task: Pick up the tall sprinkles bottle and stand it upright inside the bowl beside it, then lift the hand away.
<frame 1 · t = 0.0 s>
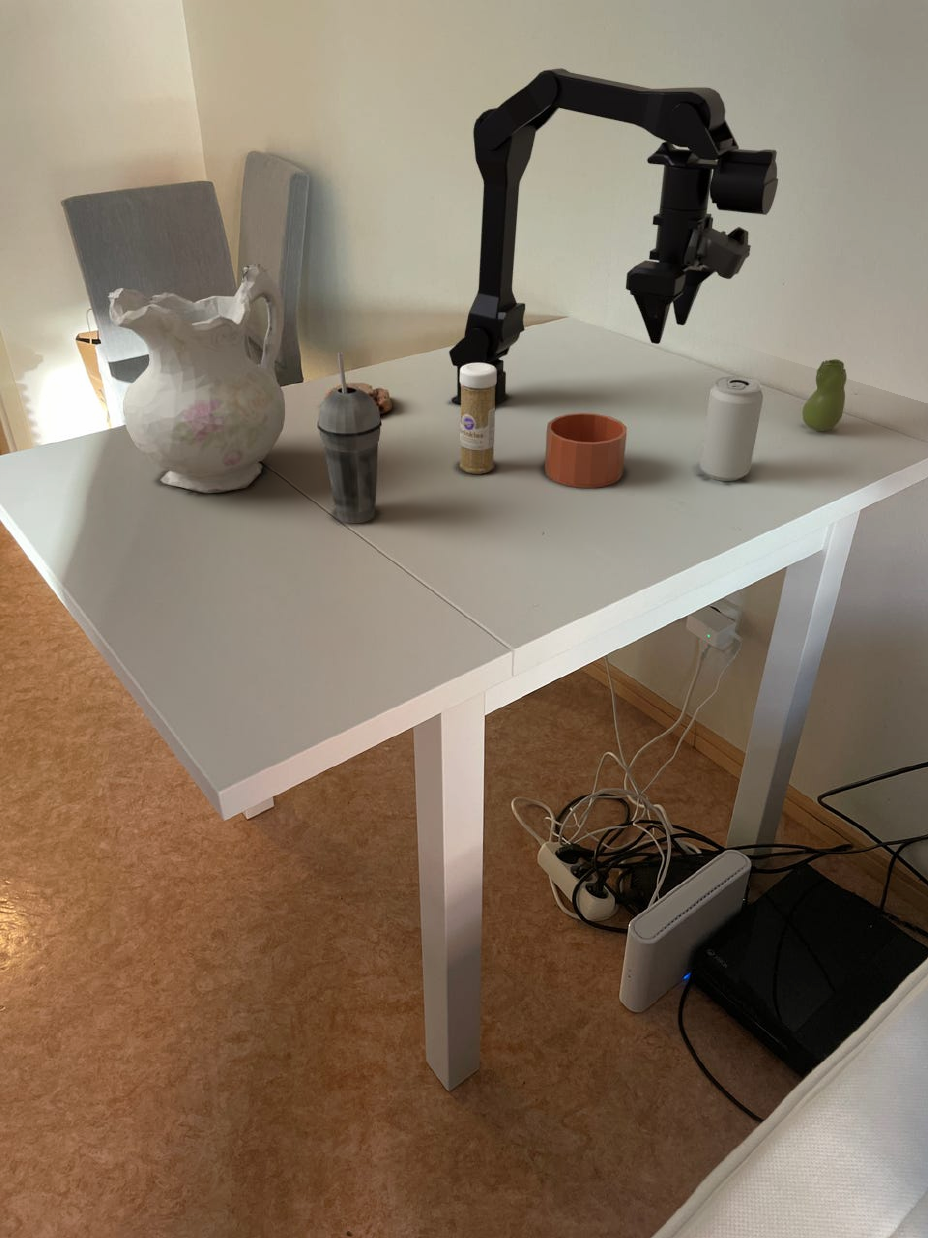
hand: (668, 333, 126), 15 cm above the table, tool pointing down, fingers open, 9 cm apart
cookie: (358, 409, 144), on the table
ceramic pitcher: (223, 472, 125), on the table
pear: (818, 430, 137), on the table
beverage can: (723, 474, 125), on the table
bowl: (583, 471, 125), on the table
sprinkles bottle: (477, 469, 126), on the table
beverage cup: (356, 516, 115), on the table
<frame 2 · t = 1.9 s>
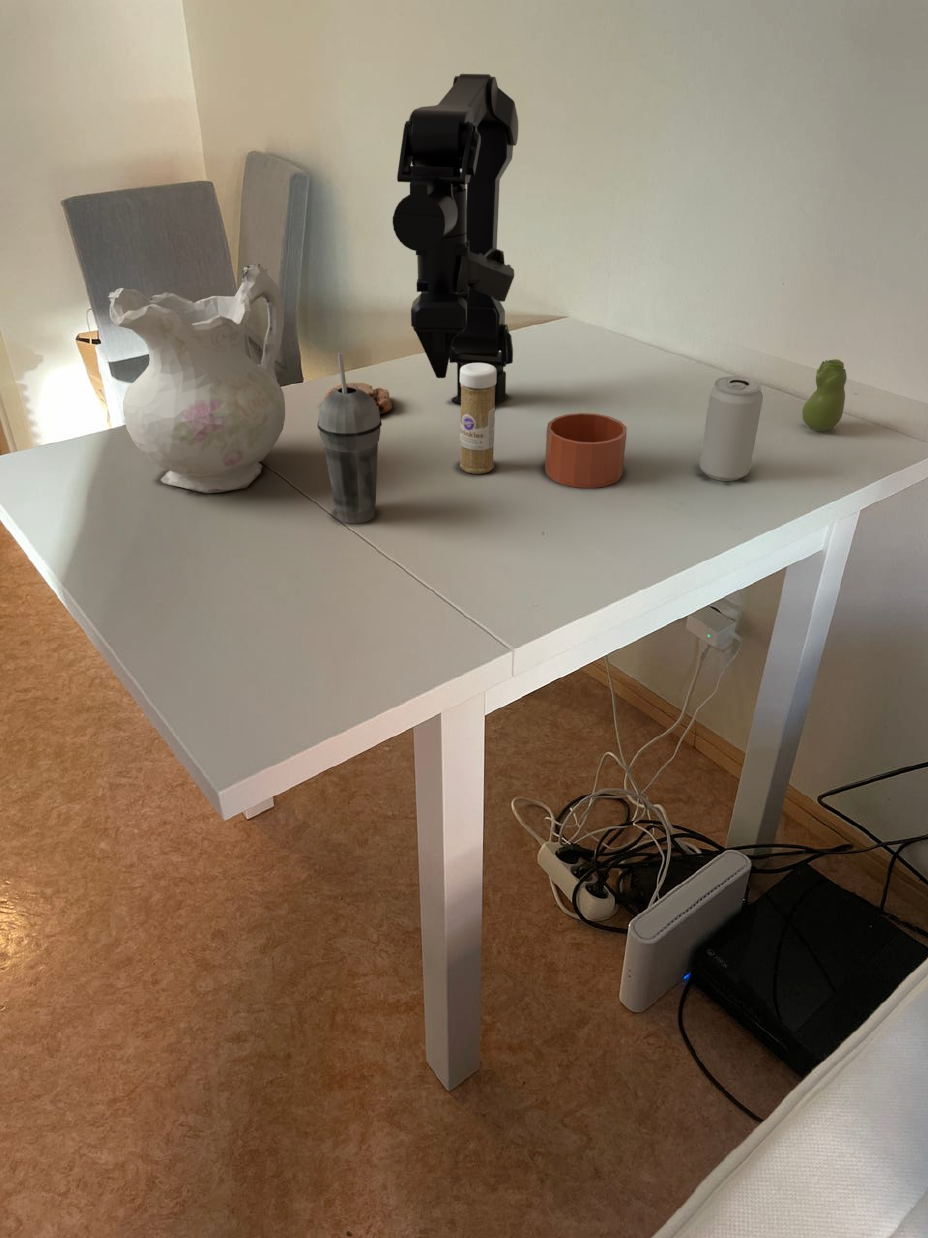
hand: (442, 365, 119), 13 cm above the table, tool pointing down, fingers open, 9 cm apart
nothing on the table moved.
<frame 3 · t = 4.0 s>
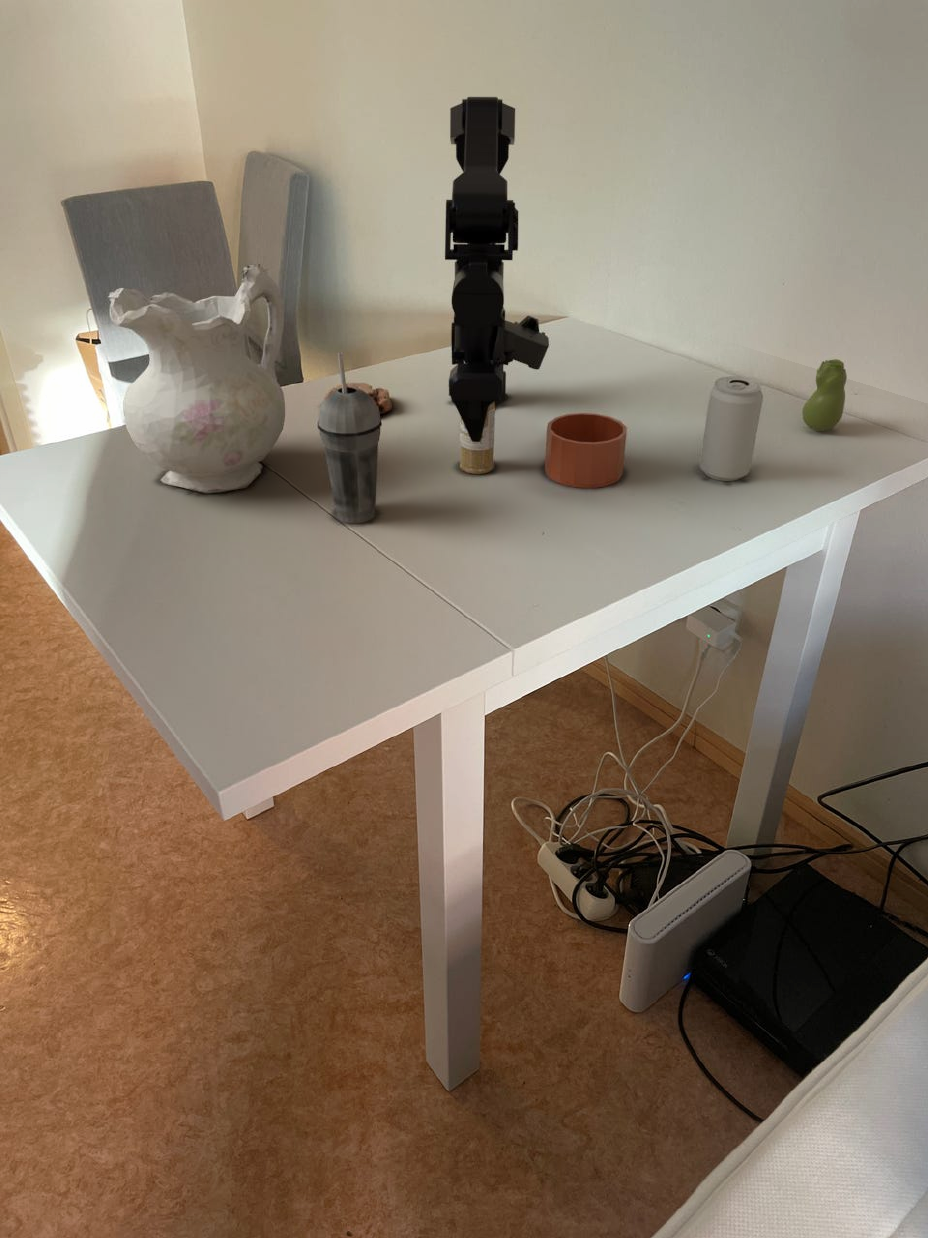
hand: (477, 427, 123), 6 cm above the table, tool pointing down
sprinkles bottle: (477, 469, 126), on the table, touching gripper
everything else where it was.
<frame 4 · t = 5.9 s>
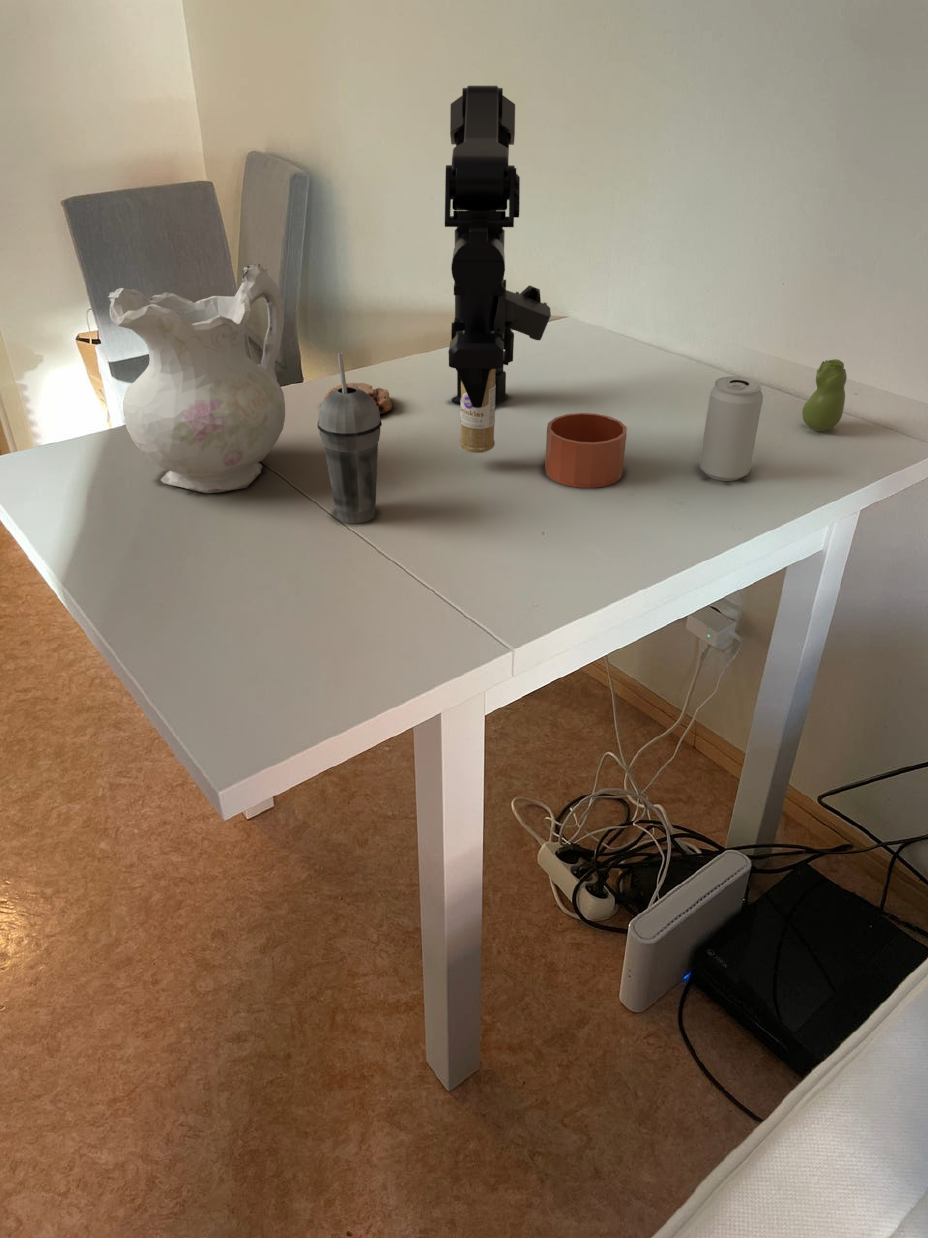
hand: (478, 400, 121), 9 cm above the table, tool pointing down, fingers closed on sprinkles bottle, 4 cm apart
sprinkles bottle: (477, 447, 125), point 3 cm above the table, touching gripper
everything else where it was.
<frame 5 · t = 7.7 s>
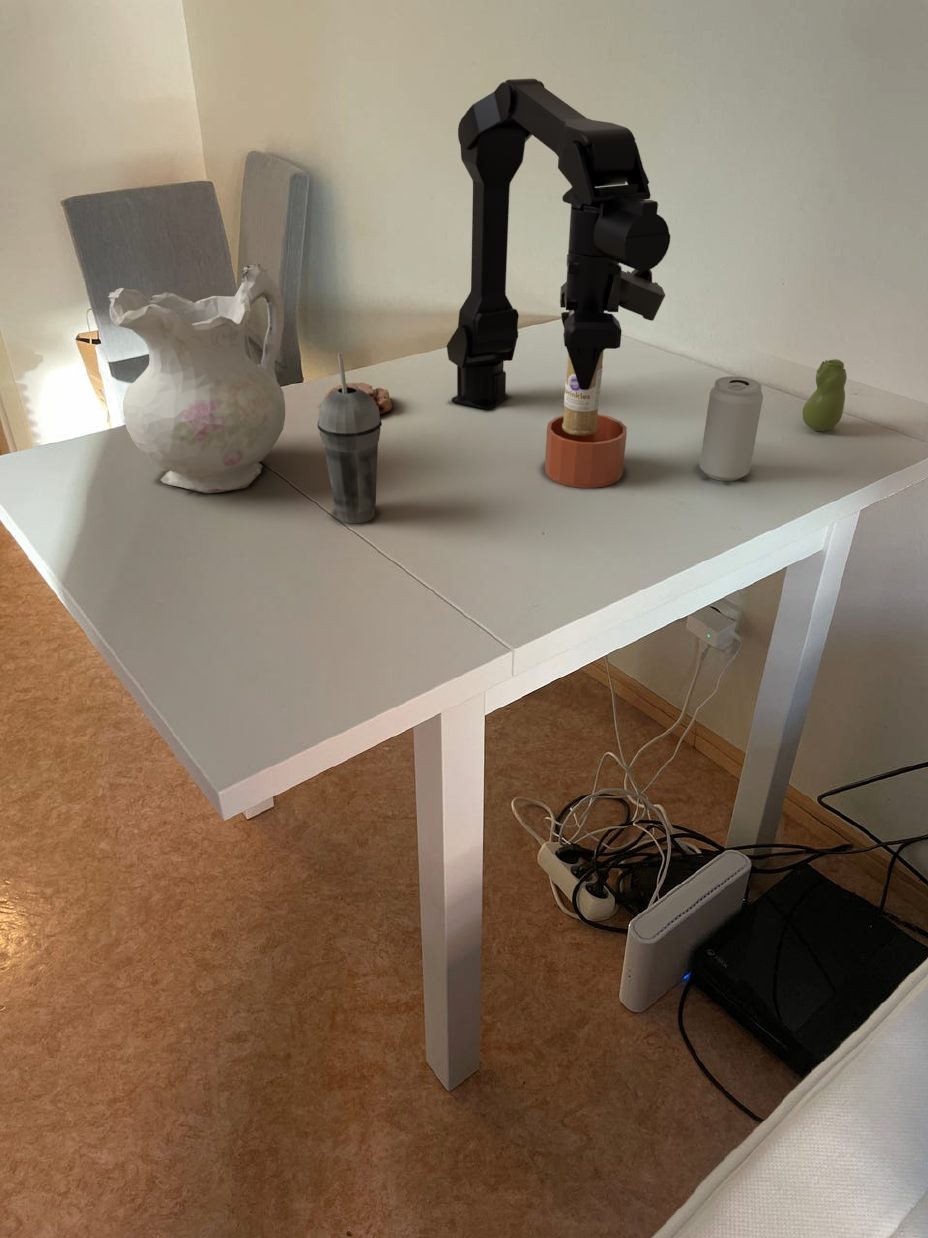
hand: (583, 382, 119), 12 cm above the table, tool pointing down, fingers closed on sprinkles bottle, 4 cm apart
sprinkles bottle: (579, 431, 122), point 5 cm above the table, touching gripper
everything else where it was.
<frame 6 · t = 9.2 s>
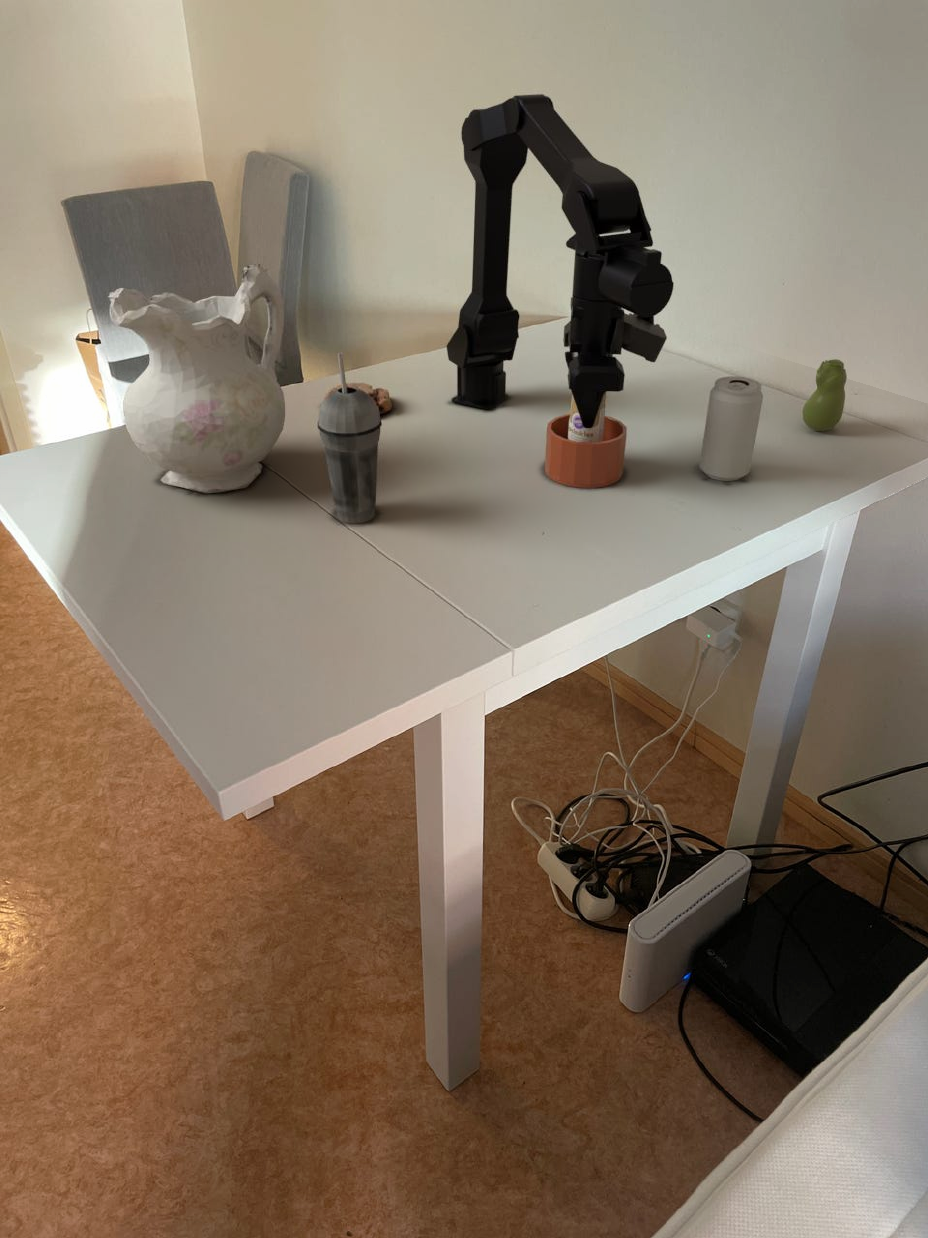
hand: (586, 420, 121), 7 cm above the table, tool pointing down, fingers closed on sprinkles bottle, 4 cm apart
bowl: (583, 471, 125), on the table, touching sprinkles bottle
sprinkles bottle: (583, 466, 125), resting on bowl, touching gripper
everything else where it was.
when the fingers open (7 cm above the table, at t = 9.4 s): sprinkles bottle stays where it is, resting on bowl.
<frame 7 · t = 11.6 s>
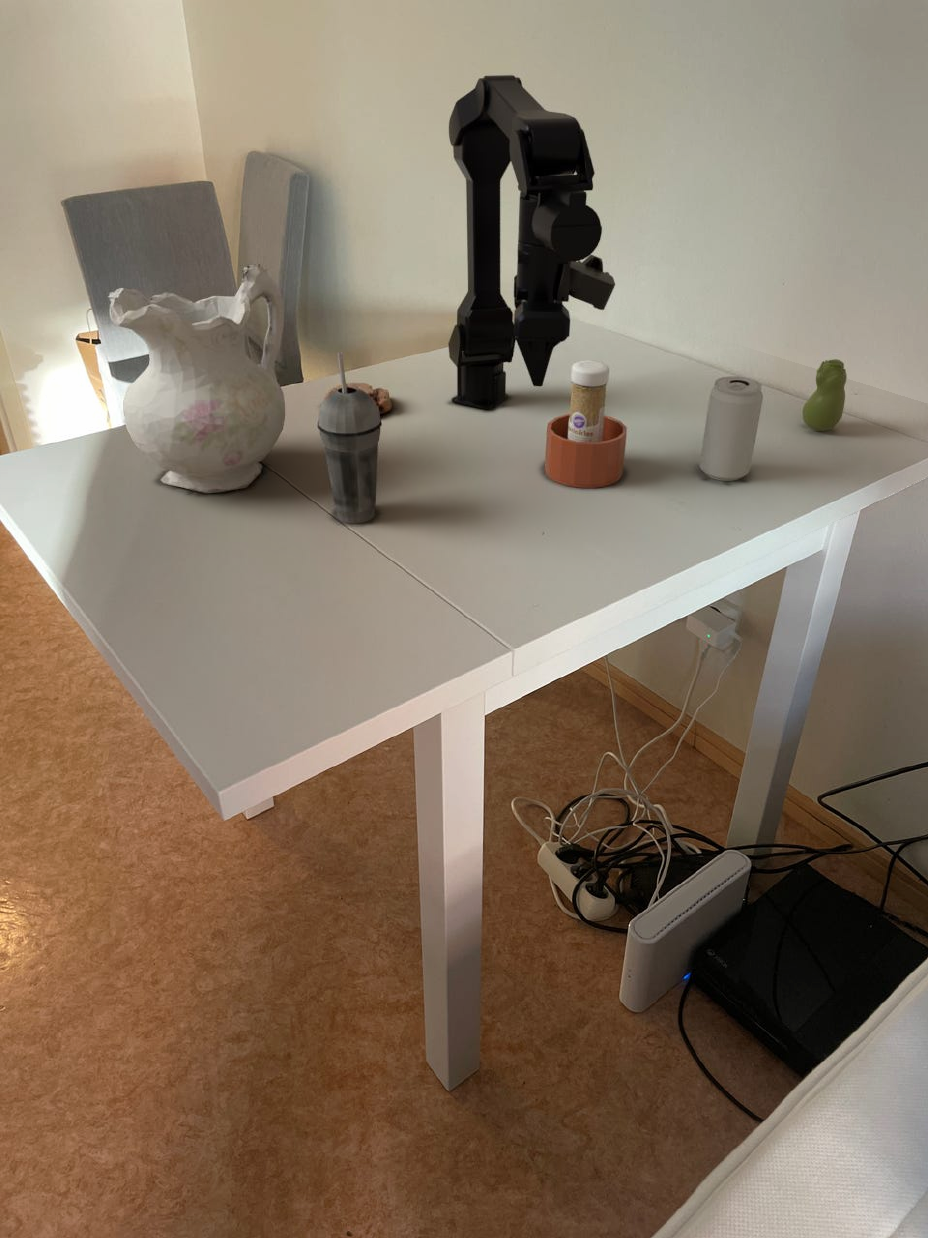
hand: (536, 372, 119), 13 cm above the table, tool pointing down, fingers open, 9 cm apart
sprinkles bottle: (583, 467, 125), resting on bowl
everything else where it was.
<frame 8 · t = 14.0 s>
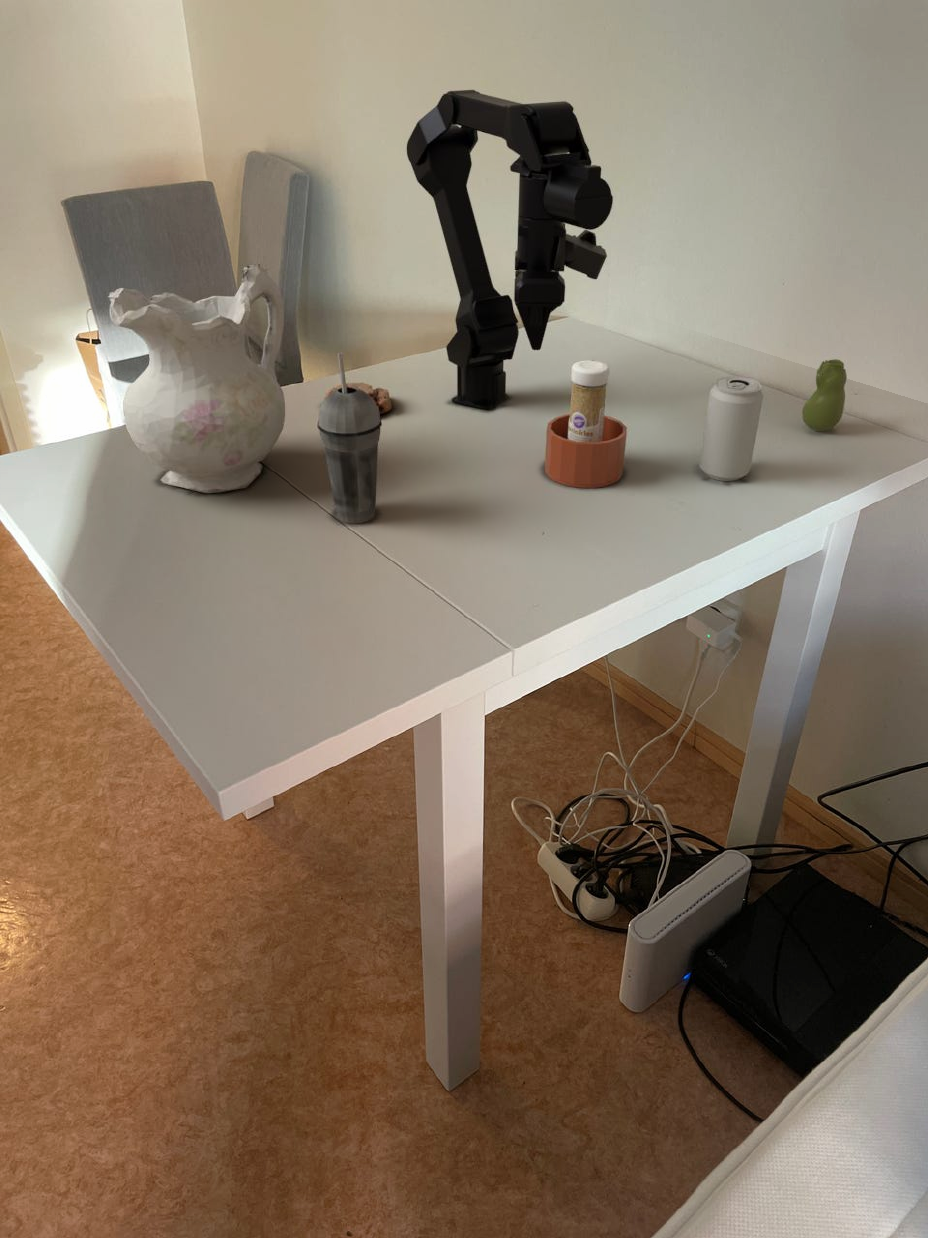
hand: (535, 338, 129), 13 cm above the table, tool pointing down, fingers open, 9 cm apart
nothing on the table moved.
at the end: sprinkles bottle 0.5 cm off-centre in the bowl, point 0.3 cm above the bowl's base; the gripper is holding nothing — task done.
